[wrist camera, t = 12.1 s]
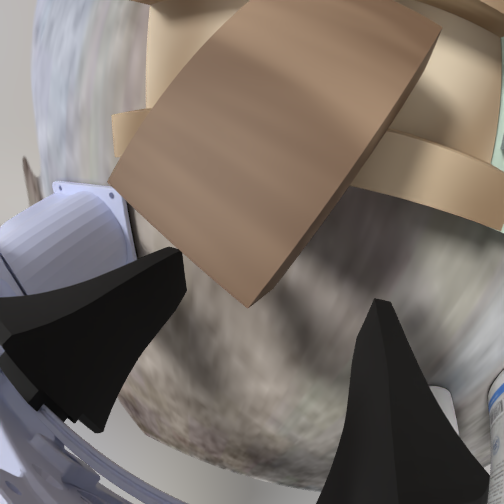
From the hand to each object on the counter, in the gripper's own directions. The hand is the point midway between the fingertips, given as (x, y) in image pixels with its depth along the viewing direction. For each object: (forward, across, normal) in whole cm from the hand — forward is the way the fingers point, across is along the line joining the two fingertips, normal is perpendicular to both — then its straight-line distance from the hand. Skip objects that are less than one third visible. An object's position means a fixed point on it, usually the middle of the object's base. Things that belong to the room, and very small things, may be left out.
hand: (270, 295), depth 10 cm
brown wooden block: (+2, -2, -10) cm, 10 cm away
